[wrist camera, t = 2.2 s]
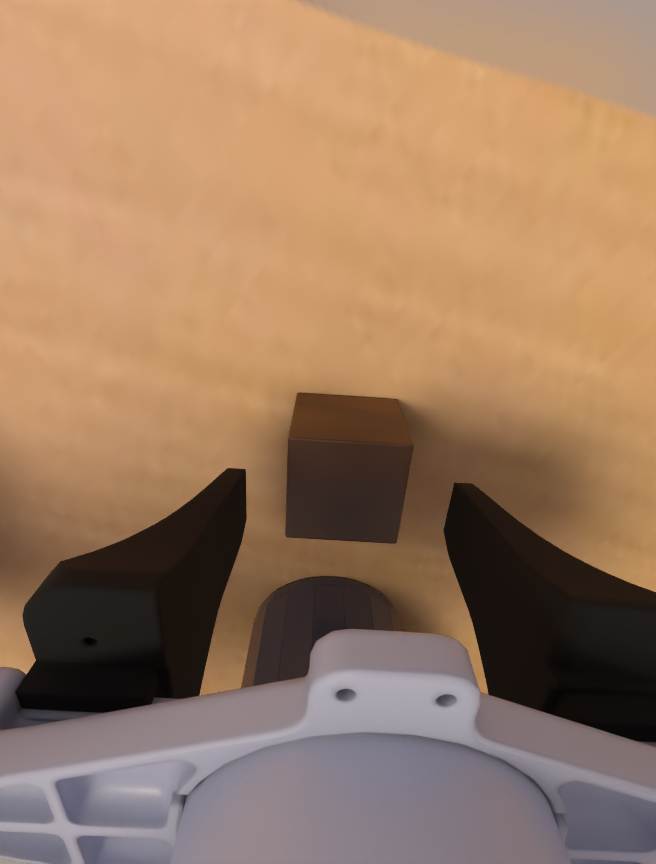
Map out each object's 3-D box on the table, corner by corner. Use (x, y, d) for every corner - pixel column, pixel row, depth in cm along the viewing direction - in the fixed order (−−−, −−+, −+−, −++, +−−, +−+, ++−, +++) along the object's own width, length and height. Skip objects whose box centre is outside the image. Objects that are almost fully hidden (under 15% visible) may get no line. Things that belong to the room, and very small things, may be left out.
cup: (222, 622, 24) (183, 764, 18) (341, 550, 22) (345, 684, 16) (315, 696, 27) (310, 842, 21) (429, 640, 25) (462, 784, 18)
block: (293, 477, 20) (285, 538, 16) (297, 392, 18) (288, 437, 14) (384, 483, 20) (397, 544, 16) (397, 398, 18) (414, 445, 14)
